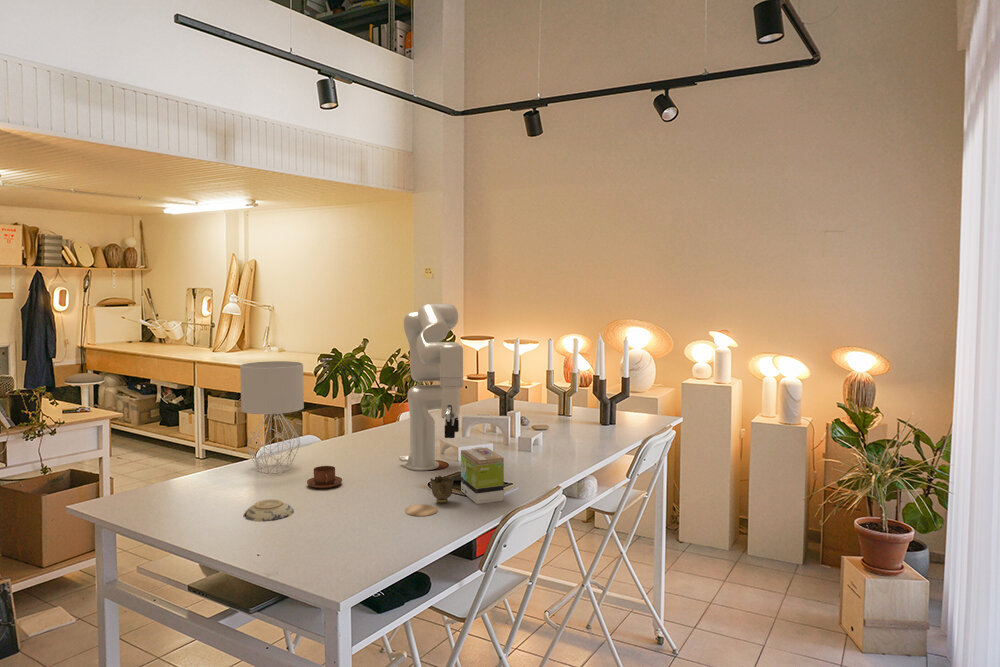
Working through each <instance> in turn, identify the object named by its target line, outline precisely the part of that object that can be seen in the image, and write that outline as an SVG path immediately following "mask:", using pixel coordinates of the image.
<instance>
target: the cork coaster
mask: <svg viewBox="0 0 1000 667" xmlns="http://www.w3.org/2000/svg"><path fill="white" fill-rule="evenodd" d="M404 511H405V514H406V515H408V516H413V517H428V516H432V515H434V514H437V512H438V507H437V506H435V505H432V504H425V503H424V504H413V505H409V506H407V507H406V508H405V510H404Z"/></svg>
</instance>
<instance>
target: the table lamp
mask: <svg viewBox="0 0 1000 667" xmlns="http://www.w3.org/2000/svg"><path fill="white" fill-rule="evenodd" d="M239 368H240V409H241V410H240V411H241V412H242V413H245V414H250V415H263V416H262V418H261V420H260V421H259V422H258V424H257V425H256V427H254V430H253V431H252V432H251V435H250V437H249V439H248V441H247V446H246V449H247V450H246V451H247V452H248V453H249V456H250V457H251V458H250V459H251V460H252V461H253V464H254V465H255V467H256V469H257V471H258V472H259V473H262V474H265V472H266V474H269V475H270V474H271V471H272V470H273V468H274V467H276V470H279V469H278V468H279V467H281V469H282V470H283V471H280V472H278V471H277V474H279V473H286V472H287V471H289V470H290V469H291V467H292V465H293V463H294V460H295V458H296V457H297V456H296V455H297V453H298V451H299V448H300V445H301V440H300V437H299V434H298V433H297V431H296V429H295V427H294V426H293V425H292V424H291V423H290V421H289V420H288V419H287V418H286V417H285V415H284V414H288V413H289V414H291V413H294V412H299V411H302V410H304V408H305V405H304V404H305V402H304V400H305V397H304V394H305V392H304V363H303V362H299V361H289V360H285V361H284V360H282V361H281V360H280V361H279V360H278V361H277V360H273V361H257V362H256V361H255V362H246V363H242V364H240V367H239ZM268 415H269V420H268V423H267V427H266V431H264V432H263V433H261V431H262V430H261V429H262V428H263V426H264V423H265V421H266V419H267V417H268ZM273 416H276V417H274V423H275V425H277V420H276V418H277V419H278V422H279V425H280V429H281V432H279V431H278V429H277V426H275V429H274V428H272V424H270V422H272V420H273ZM281 417H282V419H283V420H284V422H285V423H286V425H287V426H288V430H287V429H286V427H285V425H284V422H283V420H282V419H281ZM262 420H263V421H262ZM261 422H262V424H261ZM281 423H282V424H281ZM260 424H261V426H260V427H259V425H260ZM269 425H270V427H269ZM257 427H259V429H258V430H257V432H255V430H256V429H257ZM282 427H283V428H284V431H285V432H283V428H282ZM271 430H273V431H274V432H276V433H277V434H276V436H275V437H273V438H272V439H270V441H268V442H267V443H266V441H264V442H262V440H261V439H260V437H261V436H263V434H265V435H264V436H265V437H264V440H266V438H267V434H268V433H267V432H268V431H269V435H271V434H272V433H271ZM288 431H290V432H291V435H292V436H291V438H290V437H289V434H288ZM278 434H279V435H282V436H284V435H285V434H287V438H288V440H286V439H284V438H283V437H281V436H279V435H278ZM253 435H255V436H254V437H253ZM294 436H295V437H294ZM256 438H257V440H258V441H259V442H257V444H256V446H255V449H254V448H251V441H253V439H254V441H253V443H252V447H254V444H255V442H256ZM275 438H276V440H277V441H276V442H277V445H276V446H274V448H272V447H271V445H272V444H271V442H272V441H273V440H274V439H275ZM279 438H280V439H281V442H279ZM295 438H296V441H297V442H298V443H297V445H296V446H295V445H294V444H295V442H293V443H292V440H295ZM281 443H282V447H281V450H283V448H284V445H285V446H286V447H287V448H288V449H289V450H288V451H287V452H286V453H284V454H283V451H281V453H280V457H279V458H277V457H276V456H275V455H274V454H273V452H272V451H273V450H274V449H276V448H278V447H279V446H280V444H281ZM287 443H288V444H289V446H288V445H287ZM291 443H292V444H291ZM268 444H269V447H270V448H267V447H265V446H267V445H268ZM291 445H292V446H291ZM260 446H261V447H263V449H267V451H269V454H268V452H266V451H261V448H260ZM294 446H295V447H294ZM257 447H258V449H259V453H260V455H259V456H258V458H257V457H256V455H255V453H256V450H257ZM296 448H297V450H296V451H295V454H294V452H293V451H294V450H295V449H296ZM277 454H279V449H277ZM282 454H283V456H282ZM262 455H264V459H263V456H262ZM266 455H267V456H268V457H267V459H266ZM286 455H287V456H286ZM292 455H293V457H292ZM284 456H286V457H285V458H284V459H283V457H284ZM260 457H261V460H262V462H261V460H259V458H260ZM269 457H270V460H271V463H273V459H274V460H275V461H276V462H275V463H274V465H273V464H271V465H268V464H267V463H268V461H269ZM291 458H292V459H291ZM282 459H283V461H282ZM286 459H287V461H286V464H285V466H284V465H282V464H283V463H284V462H285V460H286ZM264 460H265V462H264ZM279 461H280V462H279ZM270 467H272V468H271V469H270V470H269V468H270ZM262 469H263V470H265V472H263V471H262Z"/></svg>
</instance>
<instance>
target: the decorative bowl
mask: <svg viewBox="0 0 1000 667" xmlns="http://www.w3.org/2000/svg"><path fill="white" fill-rule="evenodd" d="M294 513H295V512H294V509H293V507H292V506H291V505H290V504H288V503H286V502H283V501H282V500H280V499H263V500H259V501H257V502H255V503H254V504H252V505H251V506H249V507H248V508H247V509H246V510H245V512H244V514H243V515H242V516H243V518H245V520H248V521H251V522H259V523H262V522H274V521H279V520H283V519H286V518H288V517H291V516H292V515H293V514H294Z"/></svg>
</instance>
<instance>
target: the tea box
mask: <svg viewBox="0 0 1000 667" xmlns="http://www.w3.org/2000/svg"><path fill="white" fill-rule="evenodd" d="M504 465H505V462H504V457H503V456H501V455H499V454H498V453H496V452H494V451H493V450H492V449H490V448H489V447H480V448H479V447H478V448H473V449H472V448H471V449H462V450H460V479H461V482H460V486H461V487H460V489H461V492H462V493H463V494H464V495H466V497H468V498H469V499H470V500H472V502H474V503H475V504H476V505H483V504H489V503H498V502H502V501H504V497H505V495H504V494H505V492H504V490H505V488H504V486H505V485H504V484H505V483H504V481H505V480H504V474H505V473H504V469H505V467H504ZM462 489H463V490H462Z"/></svg>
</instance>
